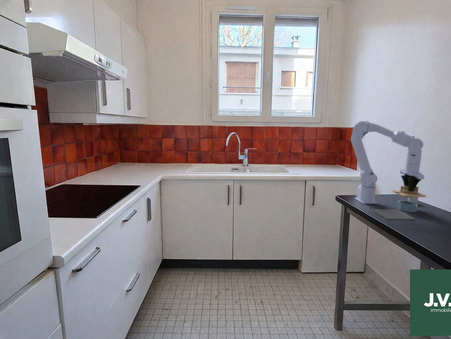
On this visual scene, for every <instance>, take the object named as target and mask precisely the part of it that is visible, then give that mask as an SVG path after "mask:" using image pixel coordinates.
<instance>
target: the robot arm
mask: <svg viewBox="0 0 451 339" xmlns="http://www.w3.org/2000/svg"><path fill="white" fill-rule="evenodd" d="M374 132H375V133H378V134H379V135H380V134H381V135H382V136H385V137H388V138H390V139H391V141H392V142H393V143H395V144H397V145H399V146H401V147H403V148H407V154H406V159H405V161H406V162H405V168H404V169H399V174H401V176H400V177H401V179H402V181H403V186H409V188H408V189H409V191H414V190H415V188H416V186H417V187H418V184H419V183H420V182H421V181H422V180H425V175H424V174H422V173H421V172H420V168H421V163H422V162H421V161H422V153H423V151H422V148H423V147H424V142H423V140H421V139H420V138H418V137H417V138H416V136H414V135H413V136H411V135H409V134H407V133H406V132H405V131H400V130H399V131H396V132H395V131H393V130H390V129H388V128H386V127H384V126H382V125H380V124H377V123H374V122H370V121H367V120H365V121H363V120H359V121H357V122H355V125H354V126H352V133H351V136H350V141H351V145H352V147H353V151H354V155H355V157H356V160H357V163H358V167H359V169H360V184H359V185H358V187H357V189H356V197H354V200H356V201H358V202H360V203H361V204H364V205H365V204H367V205H368V204H371V205H373V204H375V205H378V202H377V201H375V196H376V195H375V194H376V189H377V188H376V187H377V185H376V183H377V182H378V176H377V175H376V173H375V172H374V171H373V168H371V165H370V161H369V158H368V156H367V152H366V149H365V146H364V143H363V139H364V138H365V136H366V135H367V134H368V133H374Z"/></svg>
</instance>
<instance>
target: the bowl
mask: <svg viewBox="0 0 451 339" xmlns="http://www.w3.org/2000/svg"><path fill="white" fill-rule="evenodd" d="M418 205H419V204H418V203H415V202H412V201H408V200H406V199H405V200H402V199H401V200H400V199H399V200H397V203H396V209H398V210H400V211H402V212H406V213H416V212H418Z"/></svg>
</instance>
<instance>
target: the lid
mask: <svg viewBox="0 0 451 339" xmlns="http://www.w3.org/2000/svg"><path fill="white" fill-rule="evenodd" d="M408 188H409V186H404V185H401V186H400V189H394V190H393V189H392V193H394V194H397V195H400V196H402V197H404V198H408V197H418V198H427V195H426V194H423V193H421V192H419V186H418V185H417V186H416V188H415V190H414V191H409V189H408Z"/></svg>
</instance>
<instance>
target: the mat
mask: <svg viewBox="0 0 451 339" xmlns="http://www.w3.org/2000/svg"><path fill="white" fill-rule="evenodd" d="M370 211H372V212H374V213H375V214H377V215H378V216H380V217H382V218H383V219H385V220H392V221H393V220H394V221H395V220H398V221H400V220H401V221H402V220H405V221H407V220H408V221H409V220H411V221H416V220H417V219H416V218H415V217H412V216H410V215H409V214H407V213H405V212H404V211H402V210H399V209H397V208H396V209H395V208H394V209H393V208H392V209H391V208H390V209H388V208H385V209H384V208H383V209H382V208H377V209H376V208H371V210H370Z"/></svg>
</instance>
